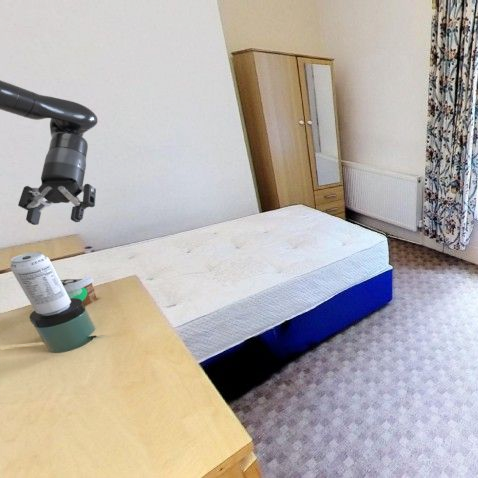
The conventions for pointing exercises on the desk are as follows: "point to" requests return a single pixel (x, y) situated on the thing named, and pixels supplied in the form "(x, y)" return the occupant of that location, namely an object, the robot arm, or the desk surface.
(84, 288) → the food container
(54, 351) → the jar
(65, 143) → the robot arm
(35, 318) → the jar lid
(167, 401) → the desk surface
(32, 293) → the energy drink can
